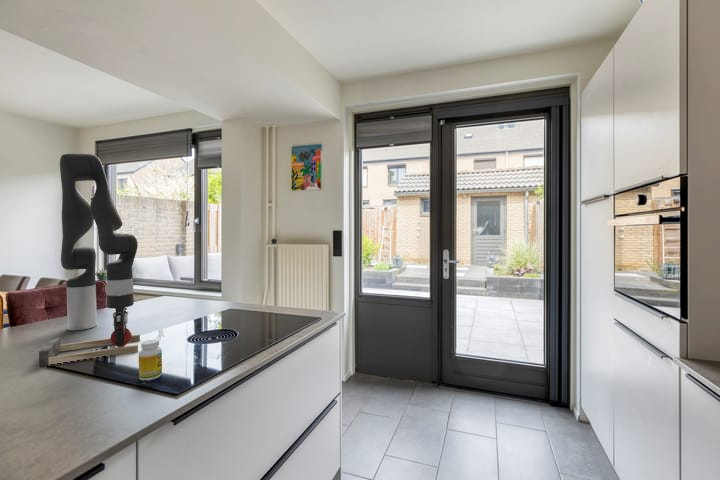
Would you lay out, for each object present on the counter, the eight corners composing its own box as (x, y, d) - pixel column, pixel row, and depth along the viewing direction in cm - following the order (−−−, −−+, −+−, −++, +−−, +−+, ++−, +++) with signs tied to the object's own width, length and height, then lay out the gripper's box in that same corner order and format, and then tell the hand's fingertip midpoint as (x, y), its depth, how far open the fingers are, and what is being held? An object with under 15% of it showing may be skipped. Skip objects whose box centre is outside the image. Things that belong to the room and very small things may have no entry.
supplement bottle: (140, 374, 92) (139, 340, 92) (163, 371, 95) (162, 337, 95) (137, 382, 88) (136, 346, 87) (161, 378, 90) (160, 343, 90)
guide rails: (52, 351, 110) (52, 338, 110) (139, 339, 123) (139, 327, 123) (39, 366, 98) (38, 351, 98) (137, 351, 110) (137, 337, 110)
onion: (135, 345, 117) (135, 322, 116) (122, 351, 111) (121, 327, 111) (120, 344, 117) (119, 321, 117) (106, 350, 111) (105, 326, 111)
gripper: (108, 290, 118) (110, 338, 118) (103, 297, 105) (104, 350, 106) (134, 288, 122) (135, 334, 122) (132, 294, 109) (133, 346, 110)
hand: (121, 341), depth 114 cm, fingers closed on onion, 6 cm apart
